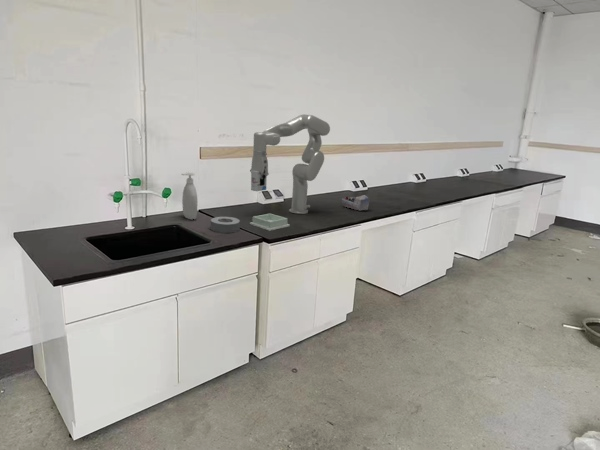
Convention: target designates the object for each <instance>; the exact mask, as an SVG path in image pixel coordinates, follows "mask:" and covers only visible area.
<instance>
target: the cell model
mask: <svg viewBox="0 0 600 450" xmlns="http://www.w3.org/2000/svg"><path fill="white" fill-rule="evenodd" d="M341 204H342V207H344V208H346V207H347V208H346V209H348V208H351V210H353V209H354V210H353V211H360V212H361V211H368V209H369V206H370V205H369V204H370V198H369V197H368V196H367V195H365V194H363V195H360V196H356V197H355V196H350V197H349V196H345V197H342V198H341Z"/></svg>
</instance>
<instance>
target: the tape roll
mask: <svg viewBox="0 0 600 450" xmlns="http://www.w3.org/2000/svg"><path fill="white" fill-rule="evenodd" d="M240 222H241V220H240V219H238V218H237V217H231V216H216V217H213V218H211V219H210V230H211V231H212V232H215V233H221V234H233V233H237V232H239V231H240V224H241V223H240Z"/></svg>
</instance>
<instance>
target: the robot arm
mask: <svg viewBox="0 0 600 450" xmlns="http://www.w3.org/2000/svg"><path fill="white" fill-rule="evenodd" d="M305 129H306V130H307V132H308V138H309V139H308V142H307V145H306V146H305V148H304V151H303V153H302V154H301V161H302V162H303V163H297V164H295V165H294V166H293V168H292V172H291V173H292V174H291V175H292V182H293V183H292V195H291V196H292V197H291V208H289V209H288V212H289V213H292V214H295V215H296V214H297V215H305V214H308V213H309V210H308V209H309V208H311V205H310V204H307V201H308V200H307V198H308V185H309V184H308V182H312V181H314V180H315V179H316V177H317V176H318V174H319V172H320V170H321V168H322V167H323V164H324V162H325V155H324V152H323V151H321V150H320V149H321V147H322V143H323V142H322V137H323V136H324V137H325V136H328V134H329V133H330V131H331V127H330V124H329V123H328V122H327V121H325V120H323V119H322V118H319V117H317V116H315V115H313V114H300V115H298V116H295V117H294V118H292V119H290V120H288V121H286V122H284V123H280V124H277V125H273V126H272V127H269V128H267V129H266V130H264V131H262V132H257V131H256V132H254V134H253V149H252V151H253V155H252V158H251V168H250V170H249V172H250V173H251V171H259V173H260V176H261V179H260V186H263V185H265V178H266V177H267V176H269V174H270V173H269V162H268V156H267V146H272V147H273V146H274V147H275V146H278V145H279V144H280V142H281V138H284V137H285V138H286V137H291V136H294V135H296V134H297V133H299V132H301V131H302V130H305ZM321 136H322V137H321Z"/></svg>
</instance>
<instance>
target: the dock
mask: <svg viewBox="0 0 600 450" xmlns="http://www.w3.org/2000/svg"><path fill="white" fill-rule="evenodd" d="M288 219H289V218H288V217H284V216H281V215H277V214H273V213H266V214H261V215H253V216H252V222H249V225H251V226H254V227H256V228H261V229H263V230H267V231H269V232H271V231H275V230H278V229H279V230H280V229H284V228H287V227H290V225H291V224H289V223H288Z"/></svg>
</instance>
